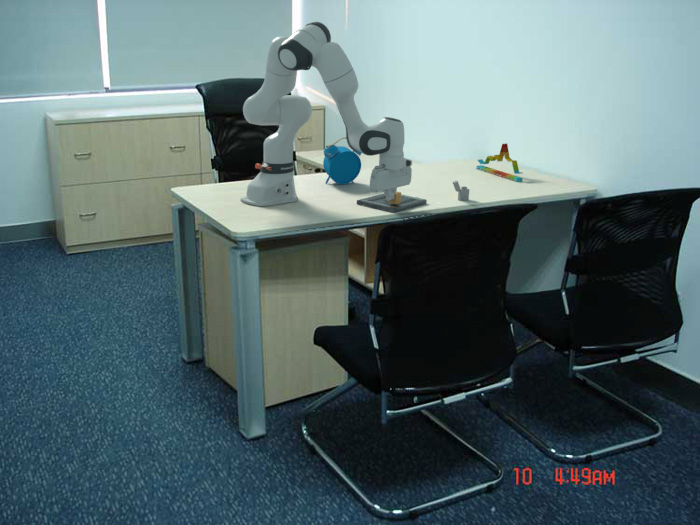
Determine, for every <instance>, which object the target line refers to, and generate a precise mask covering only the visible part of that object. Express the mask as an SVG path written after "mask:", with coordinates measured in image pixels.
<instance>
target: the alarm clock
mask: <svg viewBox="0 0 700 525" xmlns="http://www.w3.org/2000/svg"><path fill="white" fill-rule="evenodd" d="M344 139H346V136H344V137H341V138H339V139H337V140H336V141H335V142H334V143H331V144H327V145H326V146H325V147H324V148H323V156H324V158H323V160H322V161H323V163H322V164H323V165H322V166H323V169H324V171H325V173H326V174H327V175H328V177H327V179H326V180H325V184H328V182H329V180H330V179H331V180H332V181H333V182H335V183H336V184H338V185H348V184H349V183H353V182H354V180H355V179H356V178H357V177H358V176H359V174H360V173H361V169H362V162H361V158H360V157H361V155H362V153H361V152H358V151H355V150H353V149H351V148H350V146H349V145H348V147H349V148H348V147H346V146H337V145H336V144H337V143H338V142H340V141H341V140H344ZM346 140H347V139H346Z"/></svg>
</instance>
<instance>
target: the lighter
mask: <svg viewBox="0 0 700 525" xmlns="http://www.w3.org/2000/svg"><path fill="white" fill-rule="evenodd" d="M452 184H453V187H454V190H455V192H457V193H458V194H457V201H459V202H464V201H469V200H470V188H468V187H467V186H461V187H460V184H459V181H458V180H453V181H452Z"/></svg>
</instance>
